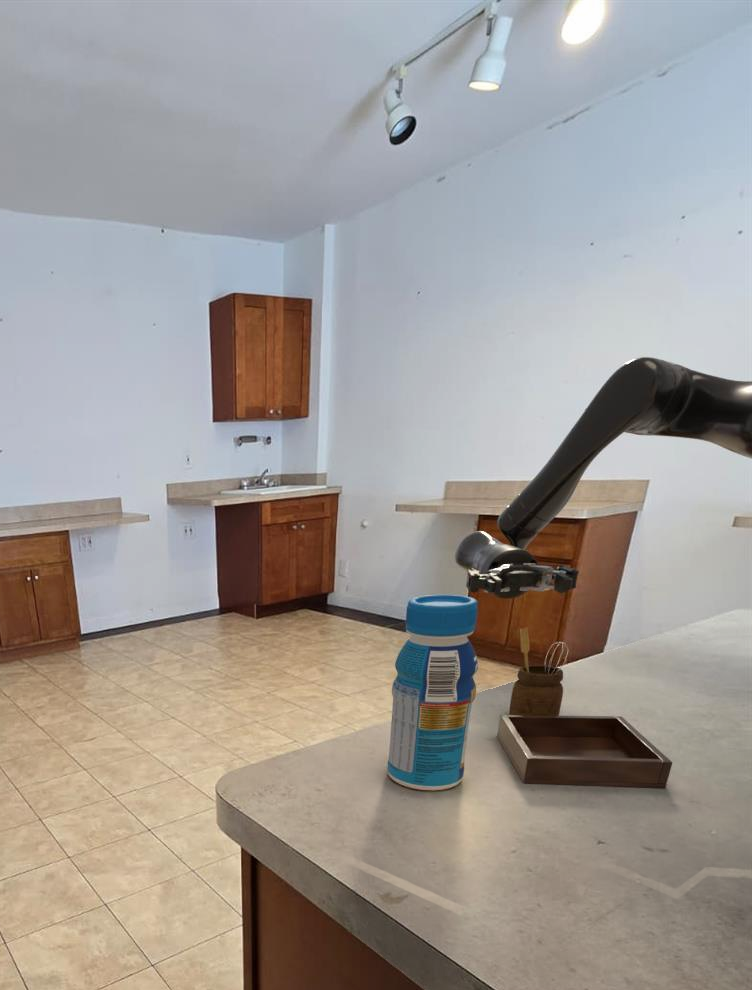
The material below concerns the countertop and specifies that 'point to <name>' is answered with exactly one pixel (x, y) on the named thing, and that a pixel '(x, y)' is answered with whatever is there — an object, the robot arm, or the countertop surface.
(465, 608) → the beverage bottle
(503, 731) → the tray box
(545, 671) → the utensil holder
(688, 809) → the countertop surface
